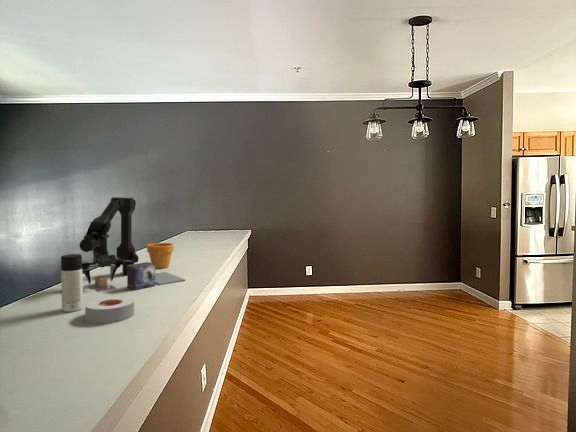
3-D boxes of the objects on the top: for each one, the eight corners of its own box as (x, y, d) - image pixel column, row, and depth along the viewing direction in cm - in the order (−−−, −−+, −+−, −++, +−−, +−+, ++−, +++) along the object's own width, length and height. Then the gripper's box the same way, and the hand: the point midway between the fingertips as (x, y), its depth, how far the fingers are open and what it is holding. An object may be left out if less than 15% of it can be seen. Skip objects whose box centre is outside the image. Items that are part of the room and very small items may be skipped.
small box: (134, 290, 161) (134, 267, 160) (126, 288, 165) (126, 265, 164) (156, 286, 169) (155, 263, 169) (148, 283, 173) (147, 261, 172)
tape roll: (89, 311, 133) (88, 298, 133) (134, 307, 139) (134, 294, 138) (82, 326, 119) (81, 311, 119) (133, 321, 124) (133, 306, 124)
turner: (89, 285, 169) (89, 276, 169) (105, 282, 174) (105, 274, 174) (99, 291, 159) (98, 282, 159) (116, 288, 164) (115, 279, 164)
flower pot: (146, 265, 214) (146, 243, 213) (171, 263, 220) (171, 242, 219) (148, 270, 201) (148, 246, 200) (175, 268, 207) (175, 245, 206)
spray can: (87, 307, 138) (86, 254, 137) (75, 312, 131) (73, 257, 130) (70, 306, 139) (69, 253, 137) (57, 312, 132) (56, 256, 131)
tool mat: (140, 276, 187) (140, 275, 187) (165, 273, 196) (165, 271, 196) (159, 285, 171) (159, 283, 171) (185, 280, 180) (185, 279, 180)
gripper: (82, 252, 155) (83, 289, 156) (127, 248, 168) (128, 282, 169) (75, 249, 163) (76, 284, 164) (119, 245, 176) (119, 278, 177)
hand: (100, 282), depth 168 cm, fingers open, 9 cm apart
